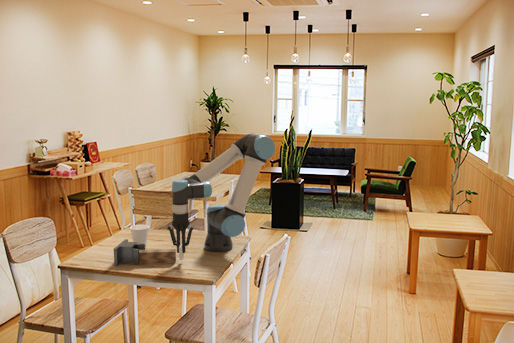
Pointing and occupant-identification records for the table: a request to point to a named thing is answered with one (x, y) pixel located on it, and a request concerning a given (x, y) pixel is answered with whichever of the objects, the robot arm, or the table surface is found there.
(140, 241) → the cup
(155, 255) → the slat
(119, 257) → the endcap
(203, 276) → the table surface
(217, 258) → the table surface
